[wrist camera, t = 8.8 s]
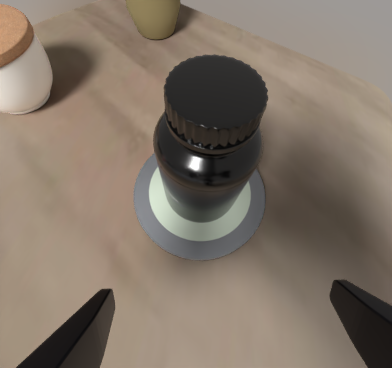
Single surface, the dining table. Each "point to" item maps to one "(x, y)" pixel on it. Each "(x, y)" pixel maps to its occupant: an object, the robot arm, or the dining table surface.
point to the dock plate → (191, 231)
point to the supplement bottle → (209, 135)
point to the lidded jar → (22, 65)
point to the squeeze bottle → (154, 17)
